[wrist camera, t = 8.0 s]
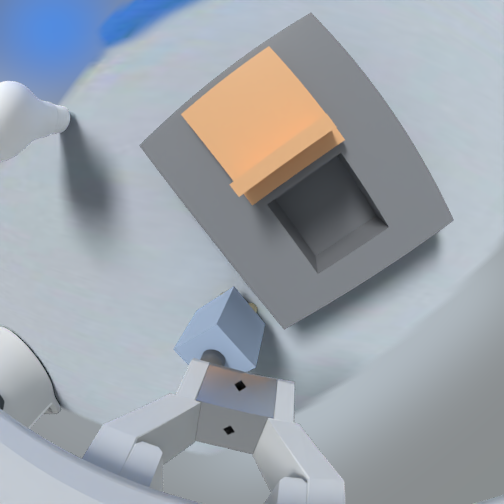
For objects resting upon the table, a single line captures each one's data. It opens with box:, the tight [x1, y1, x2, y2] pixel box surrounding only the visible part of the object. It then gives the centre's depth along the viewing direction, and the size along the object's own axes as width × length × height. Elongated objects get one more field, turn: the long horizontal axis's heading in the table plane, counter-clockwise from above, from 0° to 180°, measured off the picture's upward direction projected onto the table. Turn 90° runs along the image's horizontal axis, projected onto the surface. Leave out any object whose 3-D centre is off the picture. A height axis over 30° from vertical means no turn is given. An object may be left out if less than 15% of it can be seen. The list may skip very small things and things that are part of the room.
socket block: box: [139, 13, 454, 329], centre depth 20 cm, size 14×16×4 cm
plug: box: [174, 287, 265, 372], centre depth 22 cm, size 4×4×8 cm
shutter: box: [181, 46, 345, 205], centre depth 16 cm, size 7×7×3 cm
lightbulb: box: [0, 81, 70, 162], centre depth 18 cm, size 6×6×11 cm
